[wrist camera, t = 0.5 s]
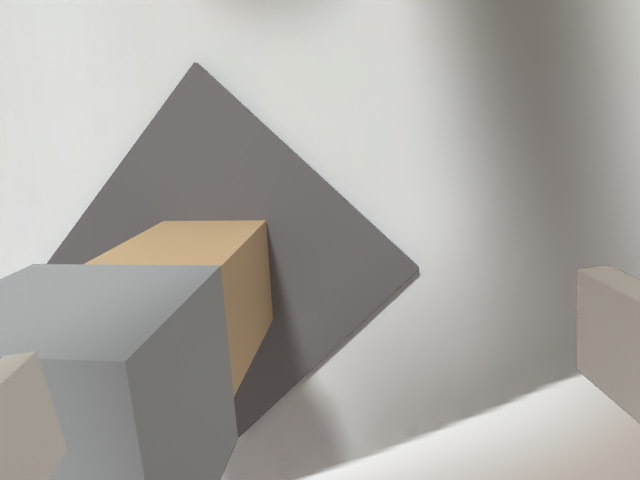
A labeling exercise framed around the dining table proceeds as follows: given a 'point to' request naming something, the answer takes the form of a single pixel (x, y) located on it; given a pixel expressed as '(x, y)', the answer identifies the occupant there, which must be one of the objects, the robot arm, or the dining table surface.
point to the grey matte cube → (129, 366)
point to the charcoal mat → (249, 204)
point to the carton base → (236, 268)
